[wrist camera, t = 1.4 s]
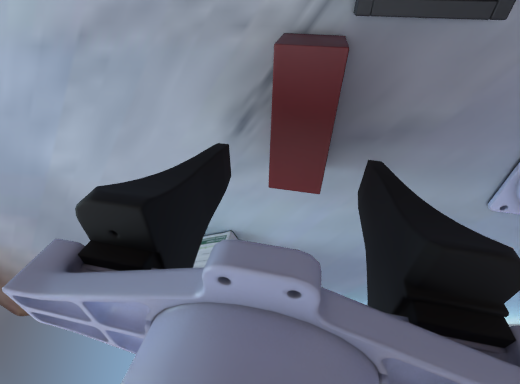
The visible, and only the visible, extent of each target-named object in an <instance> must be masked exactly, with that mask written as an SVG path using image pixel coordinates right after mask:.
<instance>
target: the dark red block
mask: <svg viewBox="0 0 520 384" xmlns="http://www.w3.org/2000/svg"><path fill="white" fill-rule="evenodd" d="M348 52H349V46H348V43H347V40H346V37H345V36H336V35H313V34H289V33H284V34H283V35H282V36H281V37H280V39H279V40H278V41H277V42H276V43H275V44H274V64H273V90H272V115H271V140H270V165H269V188H277V189H284V190H292V191H299V192H307V193H314V194H320V191H321V186H322V181H323V176H324V171H325V166H326V161H327V156H328V151H329V146H330V141H331V136H332V131H333V126H334V121H335V116H336V111H337V107H338V102H339V97H340V92H341V87H342V82H343V77H344V72H345V67H346V62H347V57H348Z"/></svg>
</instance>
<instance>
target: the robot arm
mask: <svg viewBox="0 0 520 384" xmlns="http://www.w3.org/2000/svg"><path fill="white" fill-rule="evenodd" d="M230 178H231V167H230V154H229V144H220V143H218V144H215V145H213V146H212V147H210V148H208V149H207V150H205V151H203V152H201V153H200V154H198V155H196V156H195V157H193V158H191V159H189V160H187V161H185V162H183V163H181V164H179V165H177V166H175V167H173V168H170V169H168V170H165V171H163V172H160V173H157V174H154V175H151V176H148V177H145V178H141V179H137V180H133V181H128V182H123V183H118V184H111V185H105V186H97V187H96V188H95V189H94V190H93V191H91V192H90V193H89V194H88V195H87V196H86V197H85V198H84V199H82V200H81V201H80V202H79V203H78V204H77V206H76V208H75V210H76V216H77V218H78V221H79V222H80V224H81V226H82V227H83V229H84V231H85V232H86V234H87V235H88V237H89V239H90V240H91V241H90V242H89V243H88V244H87V245H86V246H84V245H82V244H81V243H78V242H74V241H69V240H63V239H54V240H53V241H52V242H51V243H50V244H49V245H48V246H47V247H46V248H45V249H44V250H42V251H41V252H40V253H39V254H38V255H37V256H36V257H35V258H34V259H33V260H32V261H31V262H30V263H29V264H27V265H26V266H25V267H24V268H23V269H22V270H21V271H20V272H19V273H18V274H17V275H16V276H15V277H14V278H13V279H11V280H10V281H9V282H8V283H7V284H6V285H5V286H4V287H3V288H2V291H3V292H4V293H5V294H6V295H8V296H9V297H10V298H11V299H12V300H13V301H15V302H16V303H17V304H18V305H19V306H20V307H21V308H23V309H24V310H25V311H26V312H27V313H28V314H30V315H31V316H32V317H33V318H34V319H35V320H36V321H38V322H40V323H44V324H48V325H51V326H55V327H59V328H62V329H66V330H69V331H72V332H75V333H78V334H81V335H84V336H87V337H90V338H93V339H96V340H98V341H101V342H104V343H106V344H109V345H112V346H115V347H118V348H120V349H123V350H126V351H129V352H131V353H134V354H136V356H135V358H134V360H133V362H132V364H131V365H130V367H129V369H128V371H127V373H126V375H125V377H124V379H123V381H122V383H121V384H520V326H511V327H509V325H508V323H507V322H506V320H505V318H504V317H507V316H508V315H509V312H508V310H507V308H506V306H505V305H504V303H505V302H506V301H508V300H509V299H510V298H511V297H512V296H514V295H515V294H516V293H517V292H518V291H520V258H519V257H518V255H517V254H516V252H515V251H514V249H513V248H511V247H509V246H506V245H504V244H502V243H499V242H497V241H495V240H492V239H490V238H487V237H485V236H483V235H481V234H479V233H477V232H475V231H473V230H471V229H469V228H467V227H465V226H463V225H461V224H459V223H457V222H456V221H454V220H452V219H451V218H449V217H447V216H445V215H444V214H442V213H441V212H439V211H438V210H436V209H435V208H433V207H432V206H430V205H429V204H428V203H426V202H425V201H423V200H422V199H421V198H420V197H418V196H417V195H416V194H415V193H414V192H413V191H411V190H410V189H409V188H408V187H407V186H406V185H405V184H404V183H403V182H402V181H401V180H400V179H399V178H398V177H397V176H396V175H395V174H394V173H393V172H392V171H391V170H390V169H389V168H388V167H387V166H386V165H385V164H384V163H383V162H381V161H373V160H368V163H367V166H366V169H365V172H364V175H363V178H362V181H361V184H360V188H359V191H358V209H359V215H360V221H361V226H362V231H363V237H364V242H365V249H366V263H367V290H368V306H367V305H364V304H362V303H359V302H357V301H355V300H352V299H350V298H347V297H345V296H342V295H340V294H337V293H335V292H332V291H330V290H327V289H325V288H323V287H321V267H320V263H319V262H318V261H317V260H316V259H315V258H314V257H313V256H311V255H310V254H308V253H305V252H302V251H299V250H296V249H290V248H284V247H278V246H272V245H266V244H261V243H255V242H249V241H243V240H237V239H236V240H222V241H220V242H218V243H216V244H215V245H214V246H213V249H212V251H211V253H210V256H209V258H208V260H207V262H206V265H205V267H200V268H193V266H194V263H195V260H196V257H197V254H198V251H199V248H200V245H201V243H202V240H203V237H204V235H205V232H206V229H207V227H208V224H209V222H210V220H211V218H212V216H213V214H214V212H215V211H216V209H217V207H218V205H219V203H220V201H221V199H222V197H223V195H224V193H225V191H226V189H227V186H228V184H229V181H230ZM504 205H505V206H504ZM502 206H503V207H502ZM488 207H489V209H490V210H492V211H497V212H504V213H512V214H520V162H519V164H518V165H517V166H516V168H515V169H514V170H513V172H512V173H511V174H510V176H509V177H508V178H507V180H506V181H505V182H504V184H503V185H502V186H501V187H500V189H499V190H498V191H497V193H496V194H495V195H494V197H493V198H492V199H491V201H490V202H489V203H488Z"/></svg>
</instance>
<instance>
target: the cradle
mask: <svg viewBox="0 0 520 384" xmlns="http://www.w3.org/2000/svg"><path fill="white" fill-rule="evenodd" d="M515 1H516V0H356V2H355V8H354V14H355V15H356V16H385V17H417V18H449V19H481V20H488V19H490V20H505V19H507V17H508V15H509V13H510V11H511V9H512V7H513V5H514V3H515Z"/></svg>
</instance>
